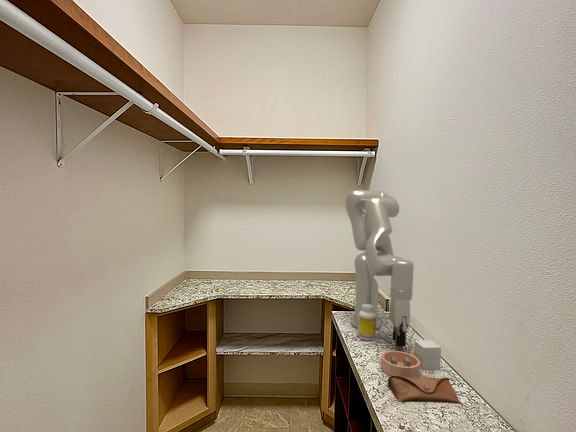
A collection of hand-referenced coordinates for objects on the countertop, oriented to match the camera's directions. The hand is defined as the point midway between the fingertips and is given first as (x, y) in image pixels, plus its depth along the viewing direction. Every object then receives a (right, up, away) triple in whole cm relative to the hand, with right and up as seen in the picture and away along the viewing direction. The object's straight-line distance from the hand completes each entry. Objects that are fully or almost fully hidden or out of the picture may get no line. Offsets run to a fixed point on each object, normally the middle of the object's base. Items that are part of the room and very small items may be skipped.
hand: (398, 342), depth 121 cm
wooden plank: (0, -2, 0) cm, 2 cm away
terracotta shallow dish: (-5, -3, -16) cm, 17 cm away
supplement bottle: (-10, -2, +10) cm, 14 cm away
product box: (+5, -3, -12) cm, 13 cm away
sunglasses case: (-3, -4, -29) cm, 29 cm away
